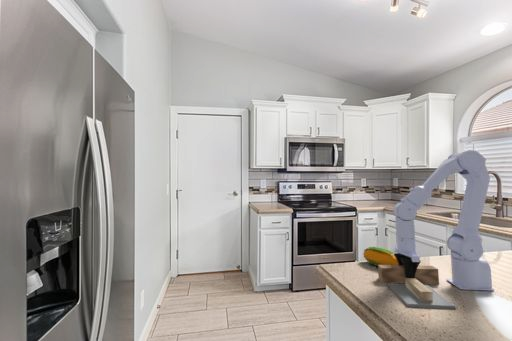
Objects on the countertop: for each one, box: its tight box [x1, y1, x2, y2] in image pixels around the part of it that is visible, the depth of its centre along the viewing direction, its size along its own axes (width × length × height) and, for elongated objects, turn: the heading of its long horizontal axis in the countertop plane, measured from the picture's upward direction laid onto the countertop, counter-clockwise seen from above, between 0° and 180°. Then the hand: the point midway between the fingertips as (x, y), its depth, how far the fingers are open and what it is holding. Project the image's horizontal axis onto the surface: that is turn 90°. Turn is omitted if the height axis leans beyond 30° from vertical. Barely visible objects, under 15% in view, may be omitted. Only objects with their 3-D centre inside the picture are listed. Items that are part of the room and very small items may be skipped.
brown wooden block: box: [377, 265, 440, 285], centre depth 87 cm, size 18×4×5 cm, turn 83°
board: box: [388, 283, 457, 310], centre depth 75 cm, size 12×14×1 cm
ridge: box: [405, 278, 433, 302], centre depth 75 cm, size 3×10×4 cm, turn 171°
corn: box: [362, 246, 399, 267], centre depth 101 cm, size 7×8×20 cm
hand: (407, 277), depth 87 cm, fingers closed on brown wooden block, 4 cm apart
